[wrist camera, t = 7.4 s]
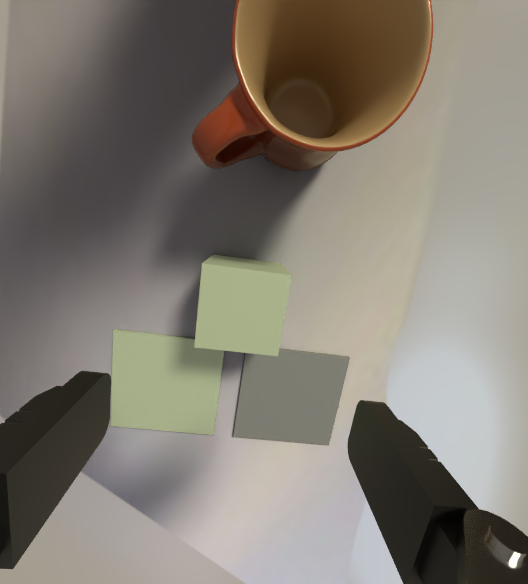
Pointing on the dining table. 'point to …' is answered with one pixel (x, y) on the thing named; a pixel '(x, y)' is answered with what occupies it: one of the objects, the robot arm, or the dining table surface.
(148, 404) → the sage pad
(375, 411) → the robot arm
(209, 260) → the pale green cube
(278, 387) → the grey pad
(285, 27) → the mug
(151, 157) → the dining table surface
